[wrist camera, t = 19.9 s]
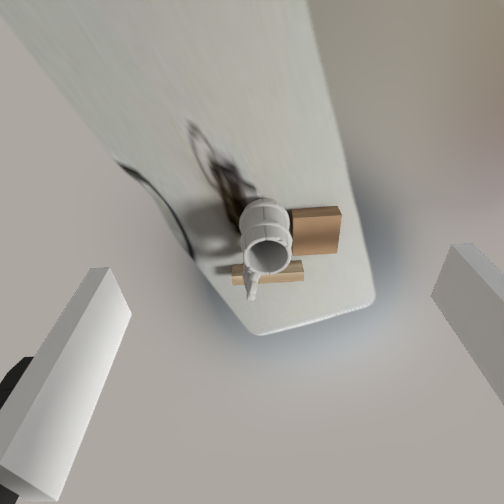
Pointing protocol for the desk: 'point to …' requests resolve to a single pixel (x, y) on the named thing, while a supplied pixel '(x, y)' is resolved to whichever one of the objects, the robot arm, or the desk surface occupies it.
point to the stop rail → (287, 275)
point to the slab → (315, 230)
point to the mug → (264, 241)
